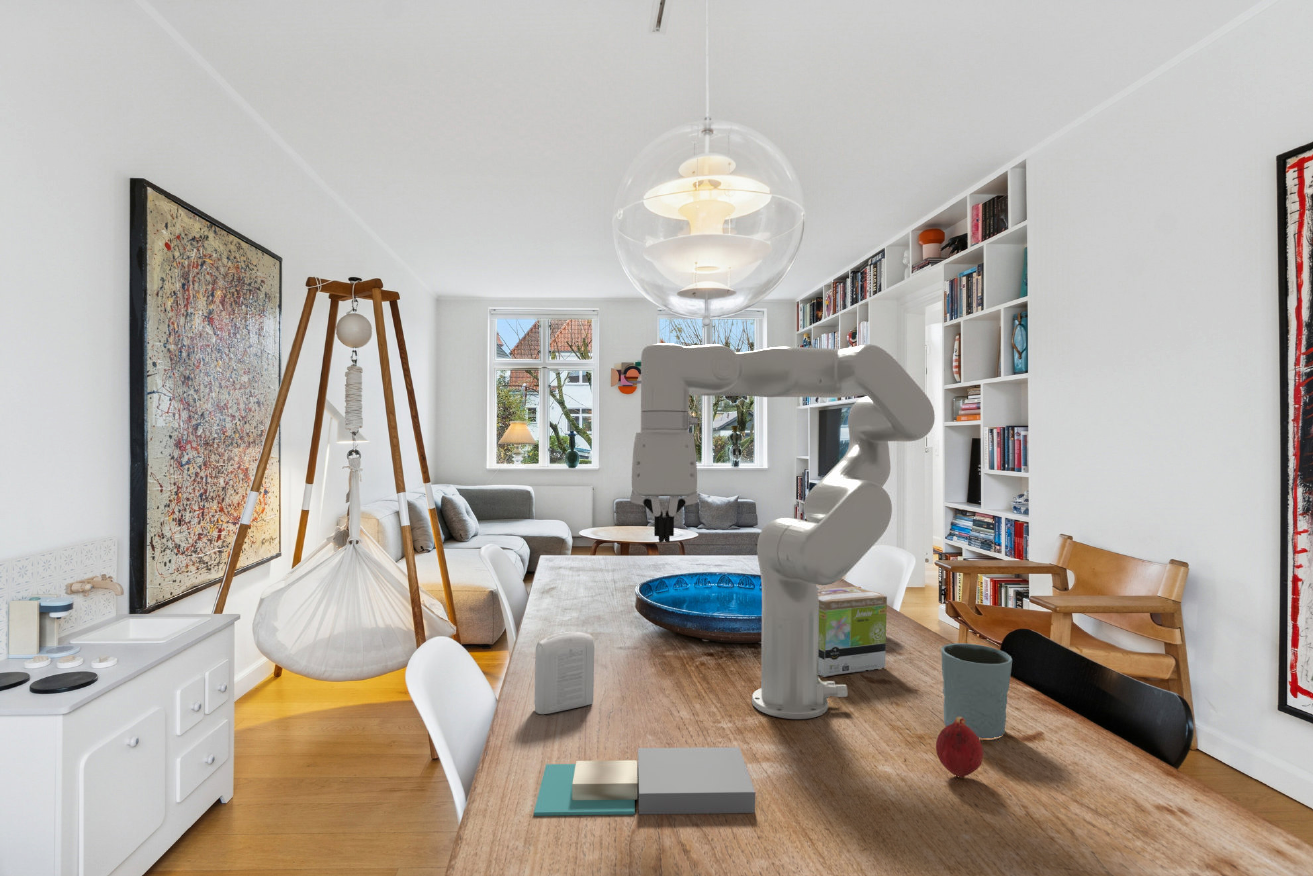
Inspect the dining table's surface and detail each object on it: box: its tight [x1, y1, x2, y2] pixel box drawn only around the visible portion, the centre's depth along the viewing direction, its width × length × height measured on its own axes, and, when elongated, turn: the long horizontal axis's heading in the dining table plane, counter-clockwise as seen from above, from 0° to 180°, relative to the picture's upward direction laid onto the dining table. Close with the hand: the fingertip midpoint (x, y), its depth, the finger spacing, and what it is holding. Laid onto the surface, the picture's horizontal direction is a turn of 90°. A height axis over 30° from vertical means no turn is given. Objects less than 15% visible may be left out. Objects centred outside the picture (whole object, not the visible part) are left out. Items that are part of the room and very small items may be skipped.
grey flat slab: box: [637, 746, 756, 815], centre depth 88 cm, size 14×12×2 cm
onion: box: [935, 716, 984, 778], centre depth 91 cm, size 6×6×8 cm
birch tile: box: [572, 759, 638, 800], centre depth 87 cm, size 8×6×2 cm
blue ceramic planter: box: [940, 642, 1013, 738], centre depth 107 cm, size 10×10×12 cm
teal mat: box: [533, 763, 636, 817], centre depth 87 cm, size 12×12×1 cm
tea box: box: [817, 586, 888, 678], centre depth 136 cm, size 15×10×15 cm, turn 114°
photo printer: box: [534, 631, 595, 715], centre depth 114 cm, size 10×4×12 cm, turn 123°
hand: (663, 540), depth 107 cm, fingers closed
